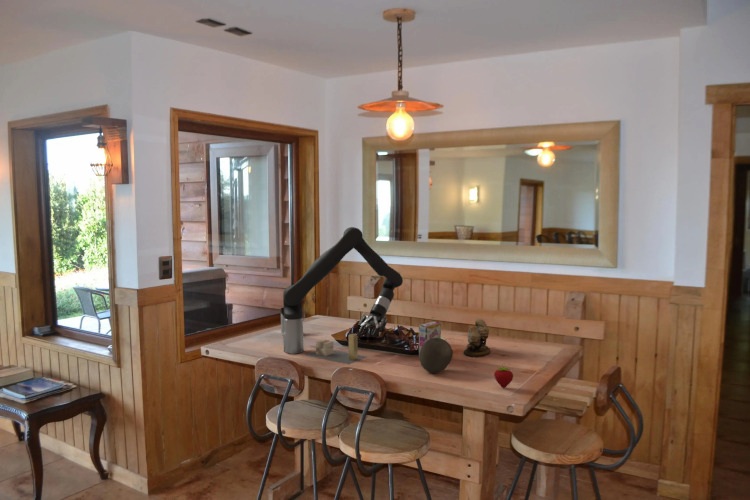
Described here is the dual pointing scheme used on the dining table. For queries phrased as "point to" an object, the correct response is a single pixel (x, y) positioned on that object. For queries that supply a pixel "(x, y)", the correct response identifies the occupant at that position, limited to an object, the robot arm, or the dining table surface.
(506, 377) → the strawberry
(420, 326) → the candy bar box
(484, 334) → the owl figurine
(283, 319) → the glass holder
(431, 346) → the coconut
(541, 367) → the dining table surface
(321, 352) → the cube
